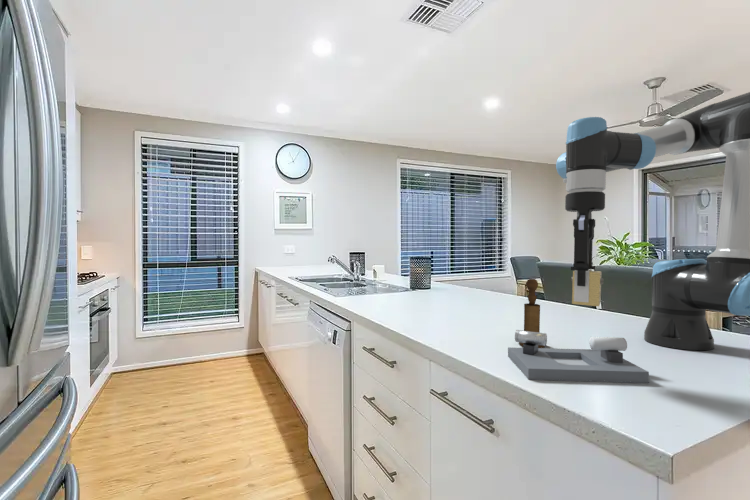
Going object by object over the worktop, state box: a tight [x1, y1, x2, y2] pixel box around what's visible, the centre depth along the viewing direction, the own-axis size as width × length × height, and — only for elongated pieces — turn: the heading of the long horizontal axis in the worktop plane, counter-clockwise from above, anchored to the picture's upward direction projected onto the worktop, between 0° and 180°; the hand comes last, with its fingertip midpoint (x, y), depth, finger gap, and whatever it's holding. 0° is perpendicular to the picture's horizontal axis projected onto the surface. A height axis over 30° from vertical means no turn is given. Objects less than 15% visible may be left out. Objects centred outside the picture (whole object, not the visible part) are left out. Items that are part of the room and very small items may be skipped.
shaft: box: [514, 329, 548, 355], centre depth 90 cm, size 6×4×5 cm
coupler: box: [570, 270, 604, 307], centre depth 83 cm, size 6×5×7 cm
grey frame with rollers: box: [507, 336, 650, 384], centre depth 85 cm, size 23×16×7 cm
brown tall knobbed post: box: [518, 278, 546, 348], centre depth 104 cm, size 7×6×18 cm
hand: (582, 299), depth 83 cm, fingers closed on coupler, 5 cm apart
